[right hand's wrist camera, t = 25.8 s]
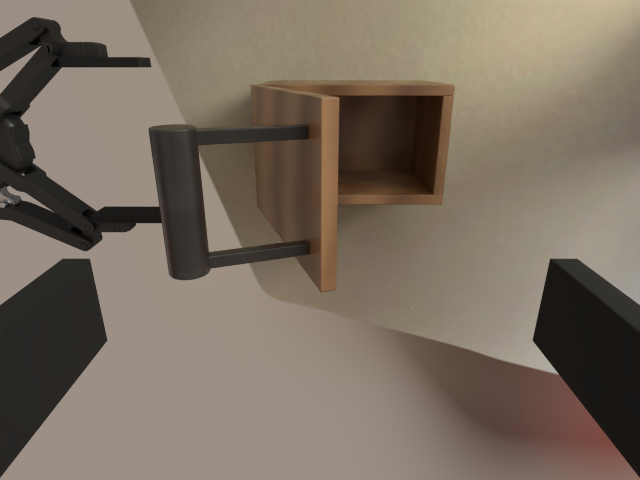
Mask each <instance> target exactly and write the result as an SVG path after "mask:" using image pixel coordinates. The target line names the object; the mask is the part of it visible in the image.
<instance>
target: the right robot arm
mask: <svg viewBox="0 0 640 480" xmlns="http://www.w3.org/2000/svg"><path fill="white" fill-rule="evenodd" d="M106 341H107V337H106V332H105V327H104V323H103V318H102V314H101V309H100V304H99V300H98V295H97V290H96V286H95V281H94V276H93V272H92V267H91V262H90V259H62V260H61V261H59V262H58V263H57V264H55V265H54V266H53V267H51V268H50V269H49V270H47V271H46V272H44V273H43V274H42V275H40V276H39V277H38V278H36V279H35V280H34V281H32V282H31V283H30V284H28V285H27V286H26V287H24V288H23V289H22V290H20V291H19V292H18V293H16V294H15V295H13V296H12V297H11V298H9V299H8V300H7V301H5V302H4V303H3V304H1V305H0V477H1V476H2V475H3V473H4V472H5V471H6V470H7V468H8V467H9V466H10V464H11V463H12V462H13V461H14V459H15V458H16V457H17V455H18V454H19V453H20V452H21V450H22V449H23V448H24V447H25V445H26V444H27V443H28V441H29V440H30V439H31V437H32V436H33V435H34V434H35V432H36V431H37V430H38V429H39V427H40V426H41V425H42V423H43V422H44V421H45V420H46V418H47V417H48V416H49V414H50V413H51V412H52V411H53V409H54V408H55V407H56V405H57V404H58V403H59V402H60V400H61V399H62V398H63V397H64V395H65V394H66V393H67V391H68V390H69V389H70V388H71V386H72V385H73V384H74V382H75V381H76V380H77V379H78V377H79V376H80V375H81V374H82V372H83V371H84V370H85V368H86V367H87V366H88V364H89V363H90V362H91V361H92V359H93V358H94V357H95V356H96V354H97V353H98V352H99V350H100V349H101V348H102V347H103V345H104V344H105V343H106ZM533 341H534V343H535V344H536V345H537V347H538V348H539V349H540V350H541V352H542V353H543V354H544V356H545V357H546V358H547V359H548V361H549V362H550V363H551V365H552V366H553V367H554V368H555V370H556V371H557V372H558V374H559V375H560V376H561V377H562V379H563V380H564V381H565V382H566V384H567V385H568V386H569V387H570V389H571V390H572V391H573V393H574V394H575V395H576V397H577V398H578V399H579V400H580V402H581V403H582V404H583V405H584V407H585V408H586V409H587V411H588V412H589V413H590V414H591V416H592V417H593V418H594V420H595V421H596V422H597V423H598V425H599V426H600V427H601V428H602V430H603V431H604V432H605V434H606V435H607V436H608V437H609V439H610V440H611V441H612V443H613V444H614V445H615V447H616V448H617V449H618V450H619V452H620V453H621V454H622V455H623V457H624V458H625V459H626V461H627V462H628V463H629V464H630V466H631V467H632V468H633V470H634V471H635V472H636V473H637V475H638V476H639V477H640V305H639V304H637V303H636V302H635V301H633V300H632V299H631V298H629V297H628V296H627V295H625V294H624V293H622V292H621V291H620V290H618V289H617V288H616V287H614V286H613V285H612V284H610V283H609V282H608V281H606V280H605V279H604V278H602V277H601V276H600V275H598V274H597V273H596V272H594V271H593V270H591V269H590V268H589V267H587V266H586V265H585V264H583V263H582V262H581V261H579V260H578V259H550V262H549V267H548V272H547V276H546V281H545V286H544V290H543V295H542V300H541V304H540V309H539V313H538V318H537V323H536V327H535V332H534V337H533Z"/></svg>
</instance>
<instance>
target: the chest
mask: <svg viewBox="0 0 640 480" xmlns="http://www.w3.org/2000/svg"><path fill="white" fill-rule="evenodd" d="M259 85H266V86H272V87H279V88H285V89H291V90H297V91H304V92H310V93H316V94H322V95H328V96H335V97H339V144H338V204H442V199H443V189H444V180H445V171H446V162H447V153H448V143H449V134H450V125H451V116H452V107H453V98H454V97H453V95H454V88H455V85H453V84H445V83H437V82H429V81H269V82H266V83H262V84H259Z"/></svg>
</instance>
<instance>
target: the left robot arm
mask: <svg viewBox="0 0 640 480" xmlns="http://www.w3.org/2000/svg"><path fill="white" fill-rule="evenodd" d="M60 31H61V28H60V25H59V24H58V23H57V22H56V21H54V20H49V19H43V18H36V17H33V18H31V19H29V20H27V21H26V22H24V23H23V24H21V25H20V26H18V27H17V28H15V29H13V30H12V31H10V32H9V33H7V34H6V35H4V36H3V37H1V38H0V71H1V70H3V69H4V68H6V67H8V66H9V65H11V64H12V63H14V62H16V61H17V60H19V59H20V58H22V57H24V56H25V55H27V54H28V53H30V52H32V51H33V50H35V49H36V48H38V47H40V46H41V45H42V46H41V47H40V48H39V50H38V51H37V52H36V53H35V54H34V55H33V57H32V58H31V59H30V60H29V61H28V62H27V64H26V65H25V66H24V67H23V68H22V69H21V71H20V72H19V73H18V74H17V75H16V76H15V78H14V79H13V80H12V81H11V82H10V84H9V85H8V86H7V87H6V88H5V89H4V91H3V92H2V93H1V94H0V219H2V220H11V221H14V222H16V223H18V224H21V225H23V226H25V227H28V228H30V229H33V230H35V231H37V232H40V233H42V234H45V235H47V236H49V237H52V238H54V239H56V240H59V241H61V242H64V243H66V244H68V245H71V246H73V247H76V248H78V249H80V250H83V251H88V250H90V249H91V248H92V247H93V246H95V245H96V244H97V243H99V242H100V241H101V240H102V234H101V232H127V231H129V230H131V229H132V228H133V227H135V226H136V223H162V220H161V213H160V207H103V208H102V209H100V210H99V211H96V210H94V209H93V208H91V207H90V206H89V205H87V204H86V203H84V202H83V201H81V200H80V199H79V198H77V197H76V196H74V195H73V194H71V193H70V192H68V191H67V190H66V189H64V188H63V187H61V186H60V185H58V184H57V183H56V182H54V181H53V180H51V179H50V178H48V177H47V176H46V173H45V172H44V171H43V170H42V169H40V168H39V167H37V166H36V165H35V164H33V163H32V162H33V159H34V158H35V153H34V150H33V148H32V146H31V144H30V142H29V129H28V125H24V123H23V121H22V120H21V119H20V117H21V116H22V115H23V114H24V113H25V112H26V111H27V110H28V108H29V107H30V105H29V104H30V103H31V102H32V100H33V99H34V98H35V97H36V96H37V95H38V94H39V93H40V91H41V90H42V89H43V88H44V87H45V86H46V85H47V84H48V82H49V81H50V80H51V79H52V78H53V77H54V76H55V74H56V73H57V72H58V71H59V70H60V69H61V68H62V67H151V63H150V58H141V57H108V55H107V49H106V45H103V44H101V43H95V42H67V41H66V40H65V39H64V38H63V36H62V35H61V33H60ZM23 173H24V174H25V175H23V176H22V174H23ZM7 186H11V187H12V188H14V189H15V190H17V191H21V192H25V193H27V194H28V195H30V196H31V197H33V198H34V199H36V200H37V201H39V202H40V203H42V204H43V205H45V206H46V207H48V208H49V209H51V210H52V211H53V212H52V211H49V210H47V209H45V208H42V207H40V206H38V205H35V204H33V203H30V202H26V201H21V197H20V196H15V195H13V194H11V193H9V192H8V190H7V188H6V187H7ZM54 212H55V213H54Z"/></svg>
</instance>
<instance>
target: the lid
mask: <svg viewBox="0 0 640 480" xmlns="http://www.w3.org/2000/svg"><path fill="white" fill-rule="evenodd" d="M251 96H252V115H253V126H247V127H223V128H199V129H196V127H195V126H193V125H160V126H154V127H150V128H149V136H150V143H151V150H152V157H153V164H154V171H155V178H156V185H157V192H158V199H159V206H160V213H161V220H162V227H163V234H164V242H165V249H166V256H167V262H168V270H169V275H170V276H171V277H172V278H174V279H178V280H192V279H196V278H200V277H203V276H205V275H206V274H208V273H209V271H210V268H217V267H224V266H231V265H238V264H245V263H253V262H260V261H267V260H274V259H281V258H288V257H295V258H296V259H297V261H298V262H299V263H300V265H301V266H302V267H303V269H304V270H305V271H306V273H307V274H308V275H309V277H310V278H311V279H312V281H313V282H314V284H315V285H316V286H317V288H318V289H319V290H320V292H326V291H332V290H336V265H337V205H338V144H339V97H335V96H328V95H322V94H316V93H310V92H304V91H297V90H291V89H285V88H279V87H272V86H266V85H251ZM249 142H254V151H255V169H256V188H257V206H258V208H259V209H260V210H261V212H262V213H263V215H264V216H265V217H266V219H267V220H268V221H269V223H270V224H271V225H272V227H273V228H274V229H275V231H276V232H277V233H278V235H279V236H280V238H281V239H282V240H283V242H284V243H277V244H270V245H262V246H254V247H246V248H239V249H231V250H223V251H215V252H209V250H208V240H207V230H206V220H205V211H204V201H203V191H202V181H201V172H200V162H199V152H198V145H211V144H230V143H249Z"/></svg>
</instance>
